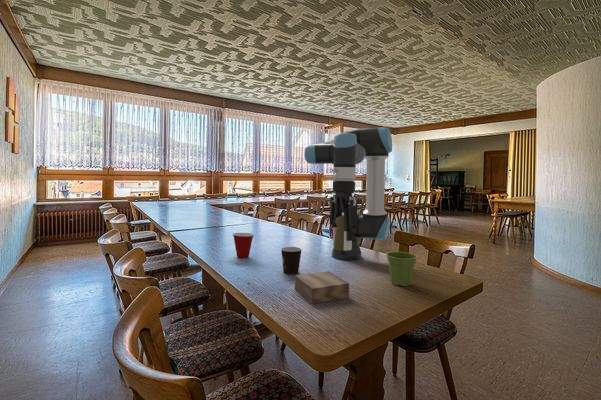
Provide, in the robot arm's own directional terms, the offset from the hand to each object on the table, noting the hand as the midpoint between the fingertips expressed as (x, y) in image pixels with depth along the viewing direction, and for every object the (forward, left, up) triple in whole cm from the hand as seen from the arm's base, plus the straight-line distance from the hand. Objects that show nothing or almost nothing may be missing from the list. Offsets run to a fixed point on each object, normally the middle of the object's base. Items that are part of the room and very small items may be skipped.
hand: (342, 247), depth 105 cm
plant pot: (-28, -2, -17) cm, 33 cm away
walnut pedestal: (+6, -4, -17) cm, 18 cm away
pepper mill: (0, 0, 0) cm, 1 cm away
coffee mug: (+6, -31, -17) cm, 36 cm away
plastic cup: (+20, -61, -17) cm, 66 cm away
